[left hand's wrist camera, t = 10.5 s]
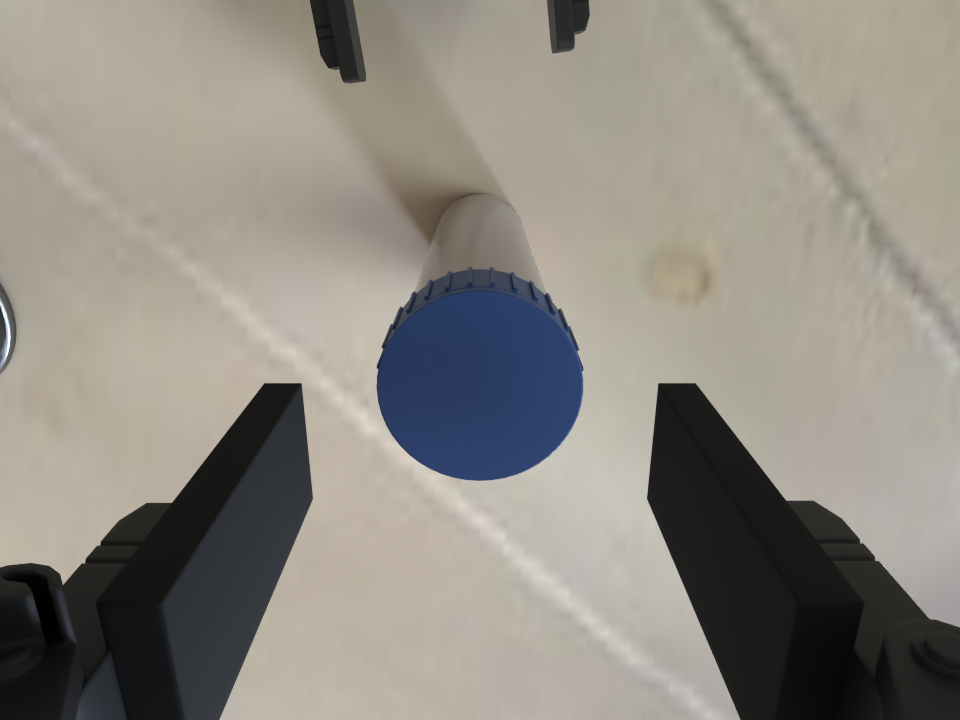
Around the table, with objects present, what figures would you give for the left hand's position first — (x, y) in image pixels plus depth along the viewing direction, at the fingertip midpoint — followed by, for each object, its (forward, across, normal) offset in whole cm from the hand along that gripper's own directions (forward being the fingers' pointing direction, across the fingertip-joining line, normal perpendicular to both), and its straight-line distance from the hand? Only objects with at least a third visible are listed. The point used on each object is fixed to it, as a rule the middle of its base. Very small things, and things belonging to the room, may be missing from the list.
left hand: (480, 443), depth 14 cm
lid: (+3, 0, 0) cm, 3 cm away
